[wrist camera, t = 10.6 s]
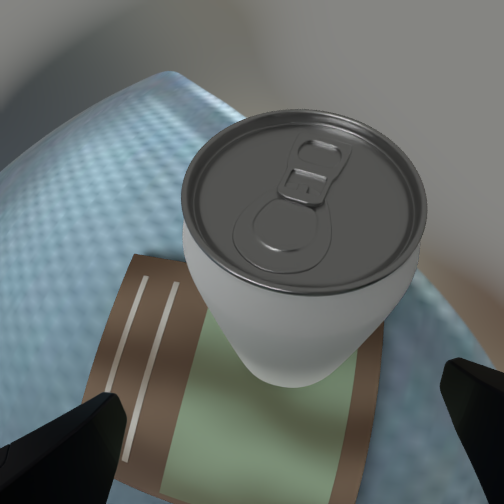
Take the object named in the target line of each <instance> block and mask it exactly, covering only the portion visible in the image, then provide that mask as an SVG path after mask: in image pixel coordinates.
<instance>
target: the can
mask: <svg viewBox="0 0 504 504" xmlns="http://www.w3.org/2000/svg"><path fill="white" fill-rule="evenodd" d="M181 206H182V212H183V216H184V224H183V249H184V255H185V259H186V262H187V265H188V268H189V271H190V274H191V276H192V278H193V281H194V283H195V285H196V287H197V289H198V291H199V292H200V294H201V296H202V298H203V300H204V301H205V303H206V305H207V307H208V308H209V310H210V312H211V313H212V315H213V317H214V318H215V320H216V322H217V323H218V325H219V327H220V328H221V330H222V331H223V333H224V335H225V336H226V338H227V339H228V341H229V342H230V344H231V346H232V347H233V349H234V350H235V352H236V353H237V355H238V356H239V358H240V359H241V361H242V362H243V363H244V365H245V366H246V367H247V368H248V370H249V371H250V372H251V373H252V374H253V375H254V376H256V377H257V378H259V379H260V380H262V381H264V382H267V383H269V384H272V385H276V386H280V387H287V388H299V387H305V386H309V385H312V384H314V383H317V382H319V381H321V380H323V379H324V378H326V377H327V376H328V375H330V374H331V373H332V372H333V371H335V370H336V369H337V368H338V367H339V366H340V365H341V364H342V363H343V362H344V361H345V360H346V359H347V358H349V357H350V356H351V355H352V354H353V353H354V352H355V351H356V350H357V349H358V348H359V347H360V346H361V345H362V344H363V342H364V341H365V340H366V339H367V338H368V337H369V336H370V335H371V334H372V333H373V332H374V331H375V330H376V329H377V328H378V326H379V325H380V324H381V323H382V322H383V321H384V320H385V319H386V317H387V316H388V315H389V314H390V313H391V311H392V310H393V309H394V308H395V306H396V305H397V304H398V303H399V301H400V300H401V298H402V297H403V295H404V294H405V292H406V290H407V289H408V287H409V285H410V283H411V281H412V279H413V277H414V274H415V271H416V268H417V264H418V259H419V253H420V239H421V237H422V235H423V232H424V229H425V224H426V219H427V199H426V194H425V189H424V186H423V183H422V180H421V178H420V176H419V174H418V172H417V170H416V168H415V167H414V165H413V164H412V162H411V161H410V159H409V158H408V157H407V156H406V154H405V153H404V152H403V151H402V150H401V149H400V148H399V147H398V146H397V145H395V143H393V142H392V141H391V140H390V139H389V138H387V137H386V136H385V135H383V134H382V133H380V132H378V131H377V130H375V129H373V128H372V127H370V126H368V125H366V124H364V123H362V122H359V121H357V120H354V119H352V118H349V117H345V116H342V115H339V114H335V113H330V112H325V111H317V110H307V109H290V110H279V111H272V112H267V113H263V114H259V115H255V116H252V117H249V118H246V119H243V120H241V121H239V122H236V123H234V124H232V125H230V126H229V127H227V128H225V129H224V130H222V131H220V132H219V133H218V134H216V135H215V136H214V137H212V138H211V139H210V140H209V141H208V142H207V143H206V144H205V145H204V146H203V147H202V148H201V149H200V150H199V151H198V153H197V154H196V155H195V157H194V158H193V160H192V161H191V163H190V165H189V167H188V169H187V171H186V174H185V177H184V180H183V184H182V191H181Z"/></svg>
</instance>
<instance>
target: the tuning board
mask: <svg viewBox="0 0 504 504" xmlns="http://www.w3.org/2000/svg"><path fill="white" fill-rule="evenodd" d="M383 331H384V321H383V322H382V323H381V324H380V325H379V326H378V328H377V329H376V330H375V331H374V332H373V333H372V334H371V335H370V336H369V337H368V338H367V339H366V340H365V341H364V342H363V344H362V345H361V346H360V347H359V348H358V349H357V350H356V351H355V352H354V353H353V354H352V355H351V356H350V357H349V358H347V359H346V360H345V361H344V362H343V363H342V364H341V365H340V366H339V367H338V368H337V369H336V370H335V371H333V372H332V373H331V374H330V375H328V376H327V377H326V378H324V379H323V380H321V381H319V382H317V383H314V384H312V385H309V386H305V387H299V388H287V387H280V386H276V385H272V384H269V383H267V382H264V381H262V380H260V379H259V378H257V377H256V376H254V375H253V374H252V373H251V372H250V371H249V370H248V368H247V367H246V366H245V365H244V363H243V362H242V361H241V359H240V358H239V356H238V355H237V353H236V352H235V350H234V349H233V347H232V346H231V344H230V342H229V341H228V339H227V338H226V336H225V335H224V333H223V331H222V330H221V328H220V327H219V325H218V323H217V322H216V320H215V318H214V317H213V315H212V313H211V312H210V310H209V308H208V307H207V305H206V303H205V301H204V300H203V298H202V296H201V294H200V292H199V291H198V289H197V287H196V285H195V283H194V281H193V278H192V276H191V274H190V271H189V268H188V265H187V263H186V262H180V261H174V260H168V259H162V258H156V257H150V256H144V255H139V254H134V255H133V258H132V260H131V262H130V265H129V267H128V269H127V272H126V274H125V277H124V279H123V282H122V284H121V287H120V289H119V292H118V294H117V297H116V299H115V302H114V305H113V307H112V310H111V313H110V315H109V318H108V321H107V324H106V326H105V329H104V332H103V335H102V338H101V341H100V344H99V347H98V350H97V353H96V356H95V359H94V362H93V365H92V369H91V372H90V375H89V379H88V382H87V385H86V389H85V392H84V396H83V400H82V403H81V404H83V403H85V402H86V401H88V400H90V399H91V398H93V397H95V396H97V395H98V394H100V393H102V392H111V393H116V394H117V395H118V396H119V398H120V401H121V403H122V406H123V408H124V410H125V412H126V415H127V425H126V429H125V434H124V439H123V443H122V448H121V453H120V458H119V463H118V466H117V470H116V473H115V476H114V479H116V480H118V481H120V482H122V483H124V484H126V485H129V486H131V487H133V488H135V489H138V490H140V491H142V492H145V493H147V494H150V495H152V496H155V497H157V498H160V499H162V500H165V501H168V502H170V503H173V504H355V502H356V498H357V495H358V491H359V487H360V483H361V479H362V475H363V471H364V466H365V462H366V457H367V452H368V448H369V442H370V437H371V432H372V426H373V420H374V414H375V407H376V400H377V393H378V385H379V377H380V368H381V357H382V345H383Z"/></svg>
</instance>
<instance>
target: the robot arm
mask: <svg viewBox="0 0 504 504" xmlns="http://www.w3.org/2000/svg"><path fill="white" fill-rule="evenodd" d="M440 391H441V394H442V396H443V399H444V401H445V404H446V406H447V409H448V412H449V414H450V417H451V419H452V422H453V425H454V427H455V430H456V432H457V434H458V436H459V439H460V441H461V443H462V445H463V447H464V449H465V451H466V453H467V455H468V457H469V459H470V461H471V464H472V466H473V468H474V470H475V472H476V475H477V477H478V479H479V481H480V484H481V486H482V488H483V491H484V493H485V496H486V498H487V500H488V503H489V504H504V373H503V372H500V371H497V370H494V369H491V368H489V367H486V366H483V365H480V364H477V363H474V362H471V361H468V360H466V359H463V358H460V357H458V358H454V359H451V360H448V361H447V362H446V364H445V367H444V371H443V374H442V378H441V382H440ZM126 425H127V415H126V412H125V410H124V408H123V406H122V403H121V401H120V398H119V396H118V395H117V394H116V393H111V392H102V393H100V394H98V395H97V396H95V397H93V398H91V399H90V400H88V401H86V402H85V403H83V404H81V405H79V406H78V407H76V408H74V409H72V410H71V411H69V412H67V413H65V414H63V415H62V416H60V417H58V418H56V419H55V420H53V421H51V422H49V423H47V424H45V425H44V426H42V427H40V428H38V429H36V430H34V431H33V432H31V433H29V434H27V435H25V436H23V437H21V438H19V439H18V440H16V441H14V442H12V443H11V444H8V445H6V446H4V447H2V448H0V504H106V502H107V499H108V495H109V492H110V489H111V486H112V482H113V479H114V476H115V473H116V470H117V466H118V463H119V458H120V453H121V448H122V443H123V439H124V434H125V429H126Z"/></svg>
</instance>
